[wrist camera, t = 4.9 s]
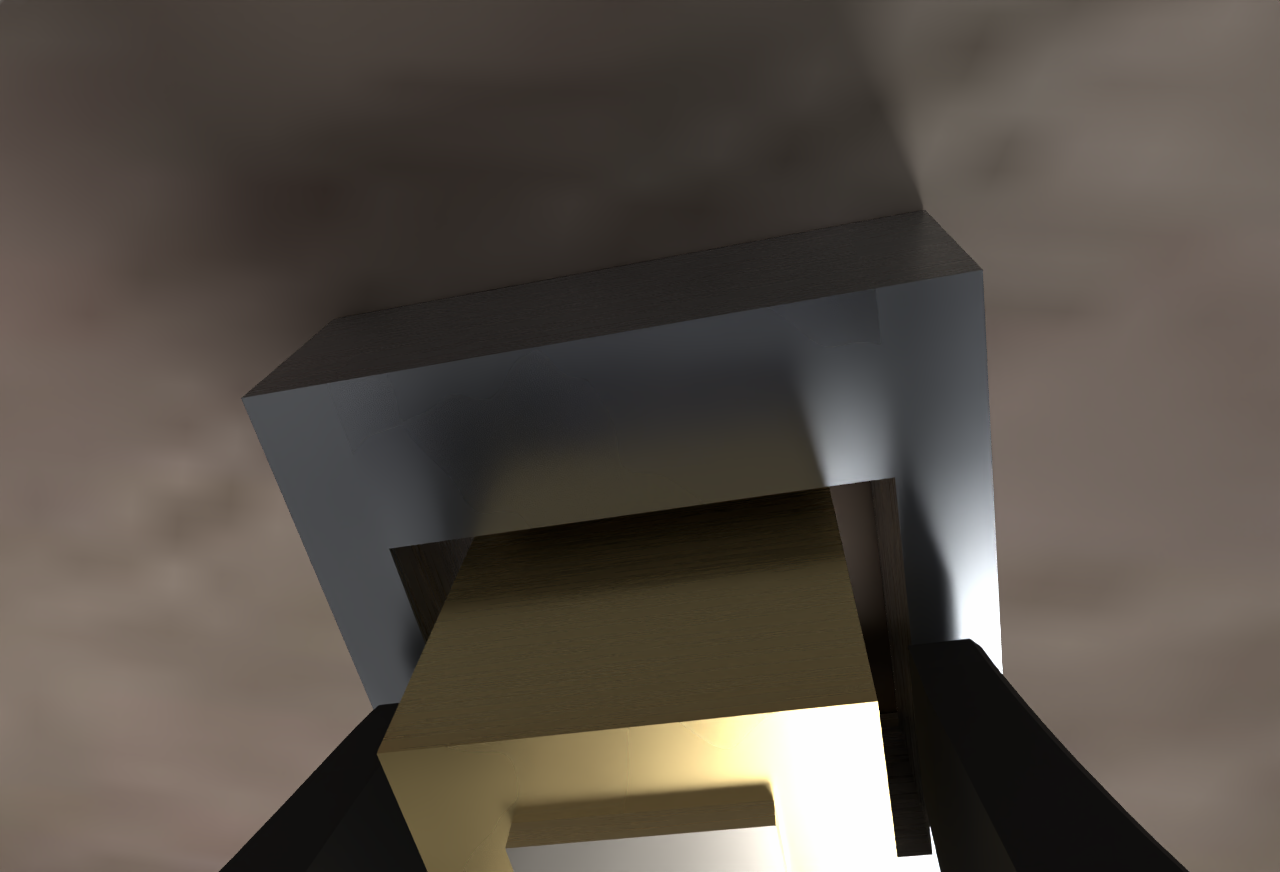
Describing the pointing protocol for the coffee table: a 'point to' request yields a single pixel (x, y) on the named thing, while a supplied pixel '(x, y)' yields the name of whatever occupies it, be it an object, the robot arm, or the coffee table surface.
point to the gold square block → (649, 701)
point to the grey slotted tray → (655, 432)
